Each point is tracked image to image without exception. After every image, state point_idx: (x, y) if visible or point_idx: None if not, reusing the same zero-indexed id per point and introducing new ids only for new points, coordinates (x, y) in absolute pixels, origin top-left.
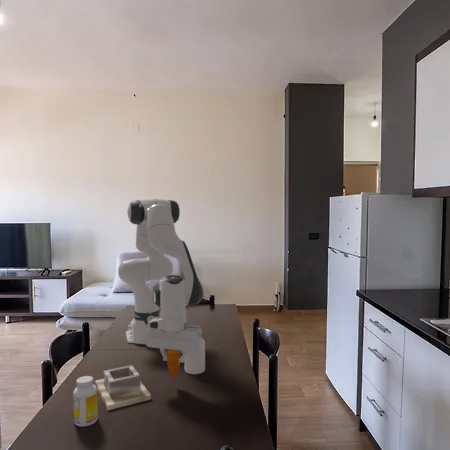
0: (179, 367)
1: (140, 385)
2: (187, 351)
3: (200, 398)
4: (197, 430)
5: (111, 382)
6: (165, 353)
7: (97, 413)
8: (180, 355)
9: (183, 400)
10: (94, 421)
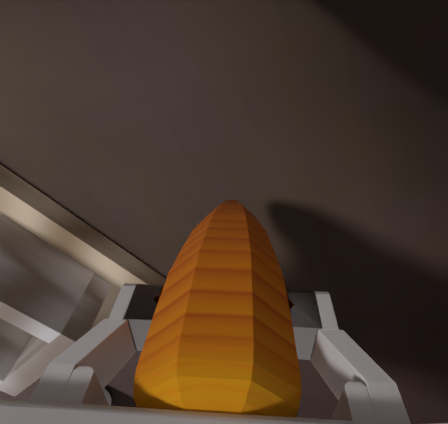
0: (270, 244)
1: (81, 253)
2: (396, 390)
3: (406, 254)
4: (407, 392)
5: (18, 393)
6: (119, 345)
7: None
8: (292, 339)
9: (326, 278)
10: (110, 402)
